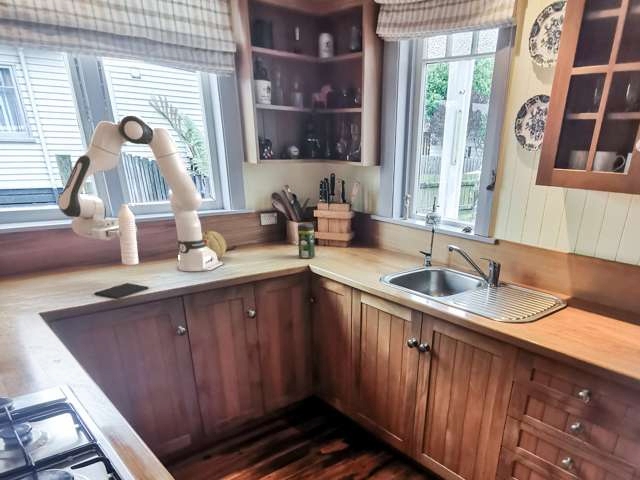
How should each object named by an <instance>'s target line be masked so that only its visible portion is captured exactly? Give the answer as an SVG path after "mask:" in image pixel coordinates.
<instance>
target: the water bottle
mask: <svg viewBox="0 0 640 480" xmlns="http://www.w3.org/2000/svg"><path fill="white" fill-rule="evenodd" d="M129 207H135V203H133V202H128V203H122V204H121V208H120V210H119V211H118V213H117V218H116V219H117V220H118V225H119V226H118V227H119V232H121V236H118V237H119V244H120V245H119V247H120V256H121V263H122V264H123V265H127V266H128V265H129V266H134V265H138V264H139V263H140V262H139V261H140V260H139V254H138V253H139V252H138V241H137V232H136V229H135V224H136V218H135V215H134V213H133V212H132V211H131V210H130V208H129Z"/></svg>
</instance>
